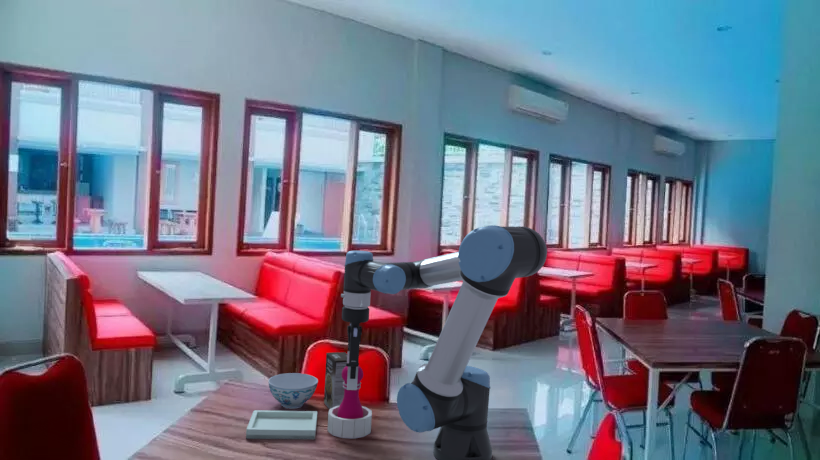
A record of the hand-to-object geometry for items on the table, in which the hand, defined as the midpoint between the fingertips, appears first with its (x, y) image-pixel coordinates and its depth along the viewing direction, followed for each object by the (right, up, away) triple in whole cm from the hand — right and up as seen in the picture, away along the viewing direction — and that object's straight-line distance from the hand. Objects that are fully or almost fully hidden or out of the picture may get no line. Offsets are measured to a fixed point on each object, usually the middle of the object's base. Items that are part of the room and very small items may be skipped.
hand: (351, 381), depth 169 cm
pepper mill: (-1, -14, +1) cm, 14 cm away
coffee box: (-6, -13, +18) cm, 23 cm away
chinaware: (-20, -12, +17) cm, 29 cm away
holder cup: (-1, -14, +1) cm, 14 cm away
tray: (-19, -13, -2) cm, 23 cm away
